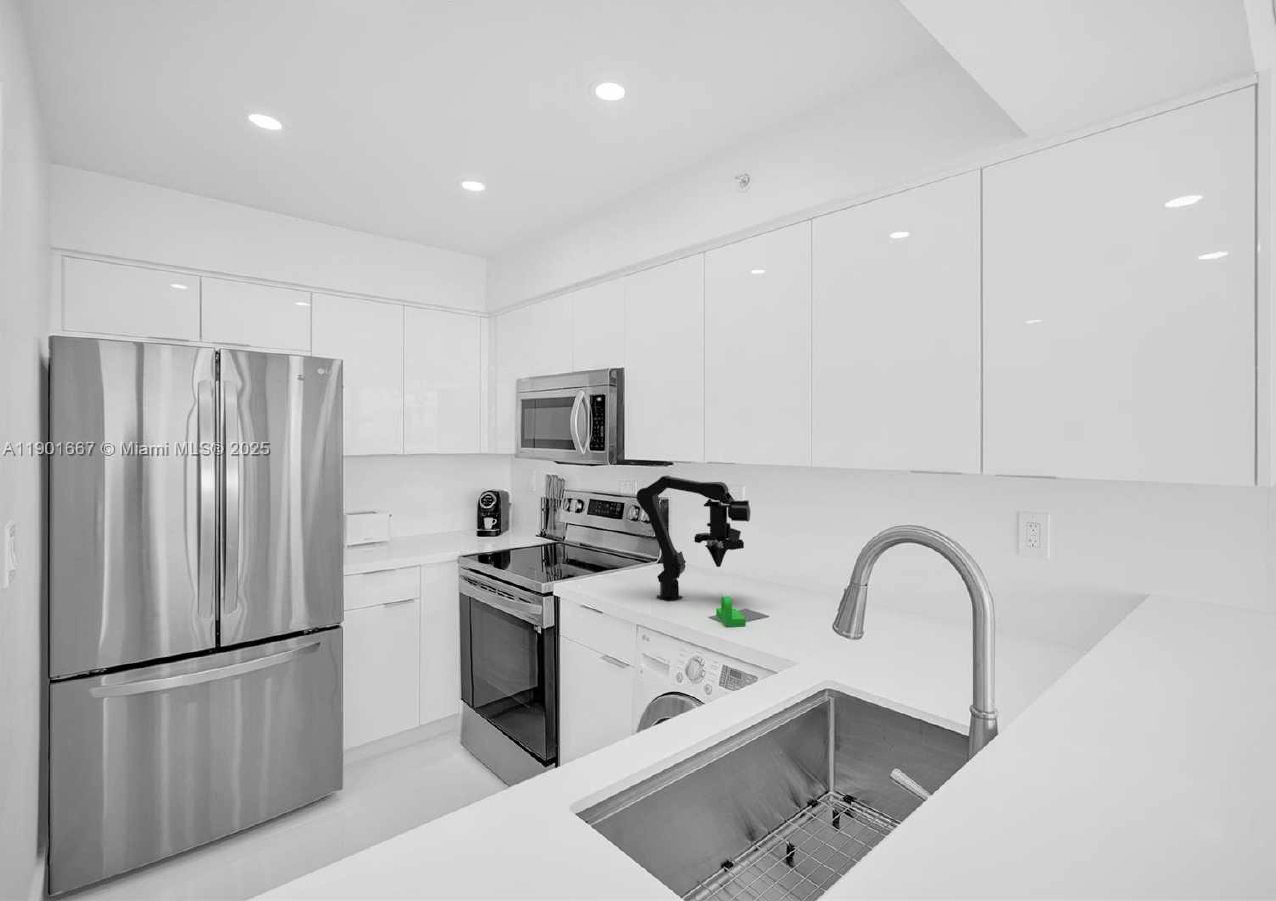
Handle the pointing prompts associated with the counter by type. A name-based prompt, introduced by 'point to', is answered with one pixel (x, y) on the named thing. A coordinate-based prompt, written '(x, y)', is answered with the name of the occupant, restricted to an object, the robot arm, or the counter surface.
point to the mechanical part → (729, 613)
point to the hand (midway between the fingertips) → (718, 566)
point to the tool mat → (745, 615)
